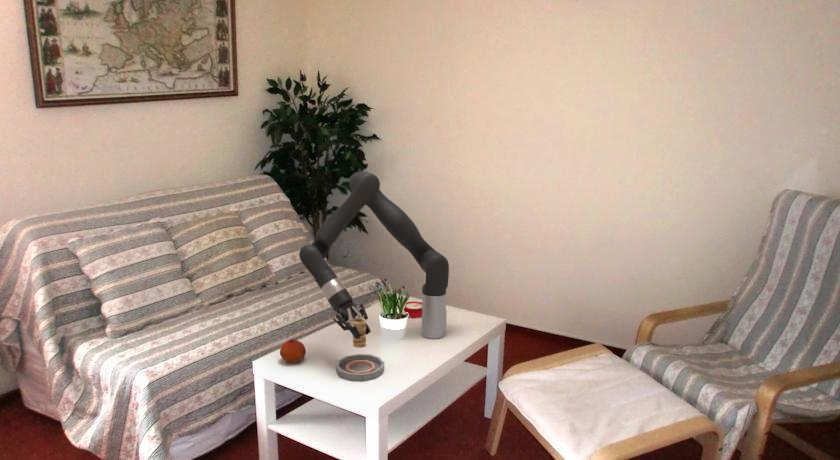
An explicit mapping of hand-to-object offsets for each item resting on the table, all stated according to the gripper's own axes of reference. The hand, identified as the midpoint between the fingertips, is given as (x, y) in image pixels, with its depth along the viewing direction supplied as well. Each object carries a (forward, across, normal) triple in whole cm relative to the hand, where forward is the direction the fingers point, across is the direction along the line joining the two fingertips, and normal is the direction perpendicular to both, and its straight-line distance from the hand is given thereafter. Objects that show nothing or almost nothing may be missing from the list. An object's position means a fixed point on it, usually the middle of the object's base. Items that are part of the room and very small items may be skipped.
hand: (363, 335), depth 221 cm
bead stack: (+1, 0, +4) cm, 5 cm away
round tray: (+8, 0, +11) cm, 14 cm away
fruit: (-8, -8, +28) cm, 30 cm away
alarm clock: (-2, +56, +22) cm, 60 cm away
